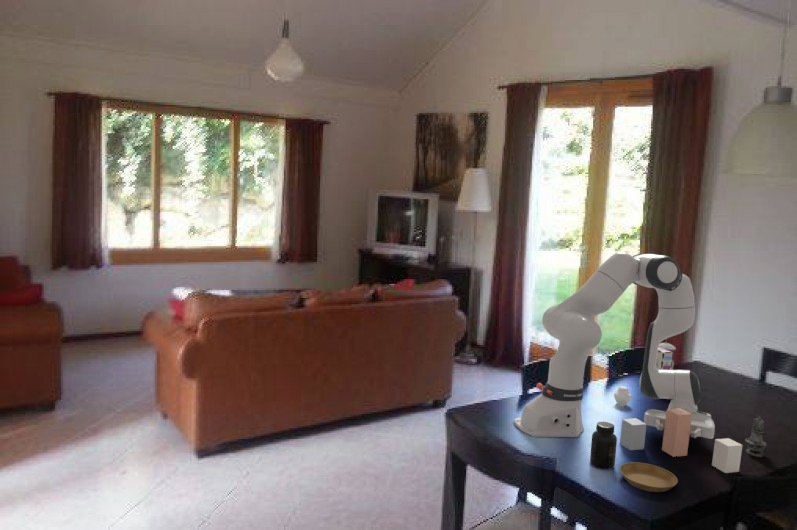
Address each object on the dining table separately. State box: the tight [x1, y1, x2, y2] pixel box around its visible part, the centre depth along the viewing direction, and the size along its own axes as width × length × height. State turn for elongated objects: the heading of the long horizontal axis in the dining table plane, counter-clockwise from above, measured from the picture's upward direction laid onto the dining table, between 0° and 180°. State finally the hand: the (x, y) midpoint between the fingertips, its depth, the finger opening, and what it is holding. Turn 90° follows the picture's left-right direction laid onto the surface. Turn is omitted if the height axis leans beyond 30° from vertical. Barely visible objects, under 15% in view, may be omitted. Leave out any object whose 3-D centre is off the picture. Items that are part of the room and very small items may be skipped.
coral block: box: [661, 408, 692, 458], centre depth 194 cm, size 5×5×13 cm
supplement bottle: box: [589, 421, 618, 470], centre depth 183 cm, size 7×7×12 cm
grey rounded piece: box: [613, 386, 632, 407], centre depth 235 cm, size 6×6×7 cm
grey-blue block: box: [619, 417, 648, 451], centre depth 197 cm, size 5×5×8 cm
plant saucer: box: [619, 462, 679, 493], centre depth 174 cm, size 15×15×3 cm
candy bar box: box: [645, 345, 674, 370], centre depth 257 cm, size 11×5×16 cm, turn 17°
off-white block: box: [711, 437, 744, 474], centre depth 185 cm, size 5×5×8 cm
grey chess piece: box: [744, 415, 767, 458], centre depth 197 cm, size 6×6×12 cm
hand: (676, 431), depth 193 cm, fingers open, 8 cm apart
